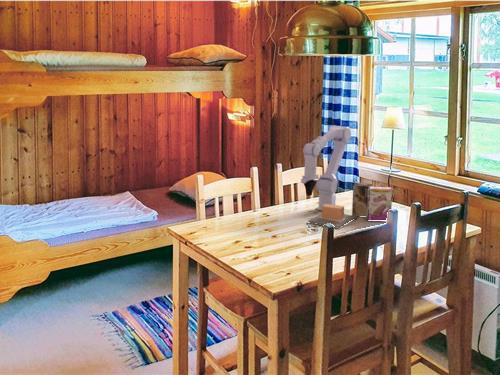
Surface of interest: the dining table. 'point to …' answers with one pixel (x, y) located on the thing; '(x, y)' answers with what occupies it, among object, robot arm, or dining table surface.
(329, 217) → the block
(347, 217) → the pin board
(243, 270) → the dining table surface
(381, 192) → the candy bar box
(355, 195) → the coffee box
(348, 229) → the dining table surface
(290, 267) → the dining table surface
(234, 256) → the dining table surface
